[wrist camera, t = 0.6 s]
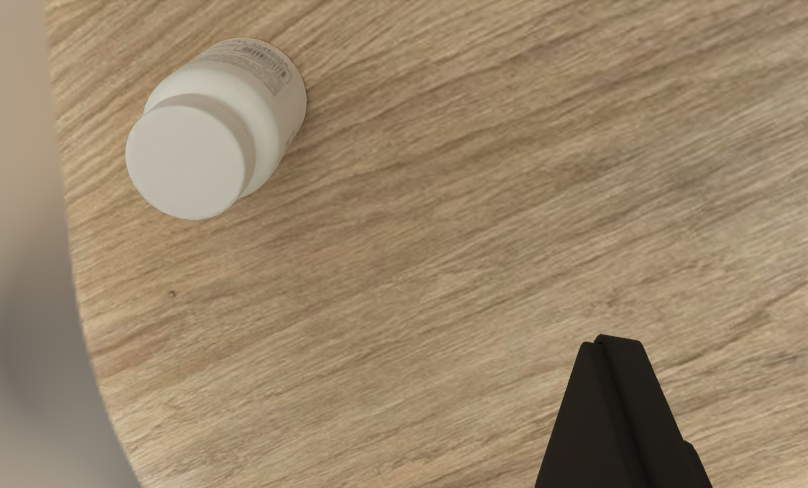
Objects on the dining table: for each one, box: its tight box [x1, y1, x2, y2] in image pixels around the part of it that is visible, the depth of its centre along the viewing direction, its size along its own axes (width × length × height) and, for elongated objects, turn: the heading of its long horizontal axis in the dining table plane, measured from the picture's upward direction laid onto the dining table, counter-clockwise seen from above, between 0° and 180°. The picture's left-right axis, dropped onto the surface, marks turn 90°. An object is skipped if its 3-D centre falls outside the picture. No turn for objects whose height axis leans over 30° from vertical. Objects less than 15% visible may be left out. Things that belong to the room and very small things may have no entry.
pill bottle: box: [125, 38, 307, 220], centre depth 24 cm, size 4×4×8 cm
